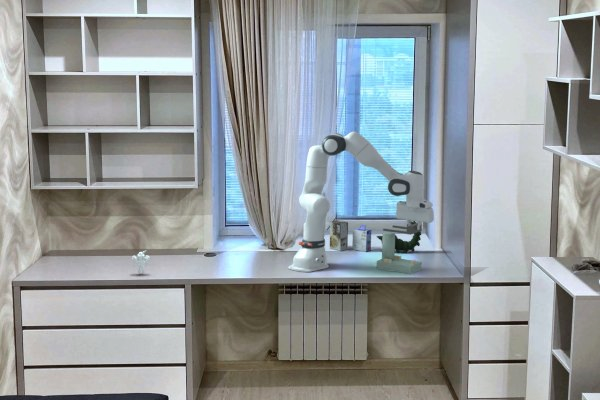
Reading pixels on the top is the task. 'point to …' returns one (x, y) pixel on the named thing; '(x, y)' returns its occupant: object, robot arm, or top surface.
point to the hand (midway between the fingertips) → (414, 229)
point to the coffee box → (339, 235)
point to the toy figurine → (406, 242)
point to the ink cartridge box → (361, 239)
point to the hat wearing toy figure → (141, 262)
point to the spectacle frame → (409, 228)
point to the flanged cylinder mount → (395, 257)
